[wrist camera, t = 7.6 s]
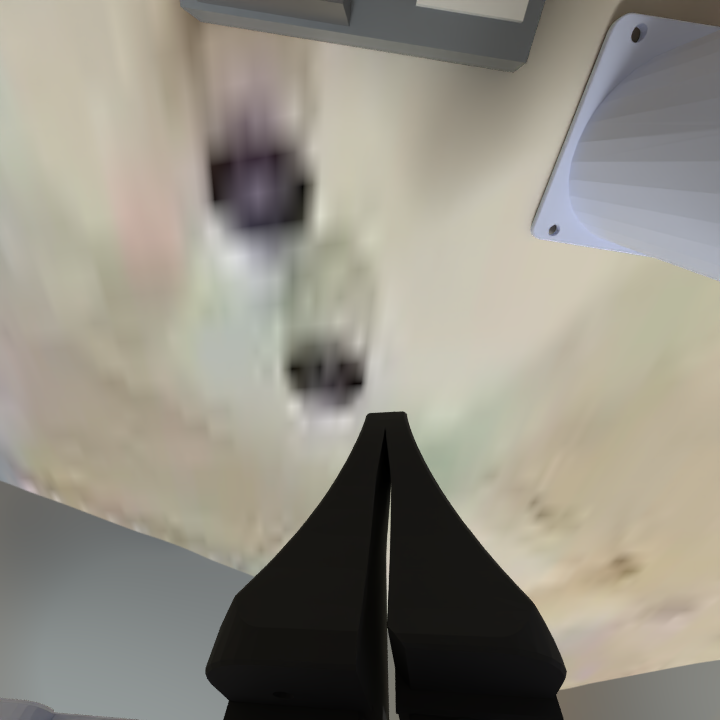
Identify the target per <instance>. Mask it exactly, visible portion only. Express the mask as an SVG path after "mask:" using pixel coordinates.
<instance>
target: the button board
mask: <svg viewBox="0 0 720 720" xmlns="http://www.w3.org/2000/svg"><path fill="white" fill-rule="evenodd" d="M544 3H545V0H180V6H181V7H182V8H183V9H184V10H186V11H187V12H188V13H190V14H191V15H192V16H194V17H195V18H196V19H198V20H199V21H200V22H205V23H211V24H218V25H224V26H230V27H236V28H242V29H248V30H255V31H261V32H267V33H273V34H279V35H285V36H292V37H298V38H304V39H310V40H316V41H322V42H329V43H335V44H341V45H347V46H353V47H359V48H365V49H372V50H378V51H384V52H390V53H396V54H402V55H409V56H415V57H421V58H427V59H433V60H439V61H446V62H452V63H458V64H464V65H470V66H476V67H482V68H489V69H495V70H501V71H507V72H514V71H516V70H517V69H518V68H520V67H521V66H523V65H524V64H525V63H526V62H527V59H528V55H529V52H530V49H531V46H532V42H533V39H534V36H535V33H536V29H537V26H538V23H539V20H540V16H541V13H542V10H543V7H544Z"/></svg>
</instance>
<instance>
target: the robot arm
mask: <svg viewBox="0 0 720 720" xmlns="http://www.w3.org/2000/svg"><path fill="white" fill-rule="evenodd" d="M635 27H638V28H639V29H640V37H639V39H638V41H637V42H636V43H634V42H633V41H632V39H631V35H632V31H633V30H634V28H635ZM553 225H556V231H555V232H554V233H552V234H549V233H548V231H549V229H550V227H551V226H553ZM531 234H532V235H533V236H534V237H535V238H538V239H542V240H548V241H554V242H560V243H567V244H573V245H579V246H586V247H592V248H598V249H605V250H611V251H617V252H623V253H630V254H636V255H642V256H649V257H654V258H656V259H659V260H662V261H665V262H667V263H670V264H673V265H676V266H678V267H681V268H684V269H687V270H690V271H692V272H695V273H698V274H701V275H703V276H706V277H709V278H712V279H715V280H717V281H720V27H718V26H712V25H706V24H700V23H694V22H688V21H681V20H675V19H669V18H663V17H657V16H651V15H645V14H639V13H627V14H625V15H623V16H622V17H620V18H618V19H617V20H616V21H615V22H614V23H613V24H612V25H611V27H610V28H609V30H608V32H607V35H606V37H605V40H604V42H603V45H602V47H601V50H600V53H599V55H598V58H597V60H596V63H595V65H594V68H593V70H592V73H591V75H590V78H589V81H588V83H587V86H586V88H585V91H584V93H583V96H582V98H581V101H580V103H579V106H578V109H577V111H576V114H575V116H574V119H573V121H572V124H571V126H570V129H569V131H568V134H567V137H566V139H565V142H564V144H563V147H562V149H561V152H560V154H559V157H558V159H557V162H556V165H555V167H554V170H553V172H552V175H551V177H550V180H549V182H548V185H547V187H546V190H545V193H544V195H543V198H542V200H541V203H540V205H539V208H538V210H537V213H536V215H535V218H534V221H533V223H532V226H531ZM390 492H391V531H390V566H389V591H388V614H387V589H386V549H387V532H388V519H389V506H390ZM387 628H388V633H389V638H390V644H391V649H392V654H393V659H394V664H395V681H396V682H395V686H396V687H395V690H396V714H399V719H400V720H563V716H562V713H561V709H560V706H559V703H558V700H557V697H556V694H557V692H558V691H559V689H560V687H561V686H562V684H563V682H564V680H565V678H566V672H567V671H566V668H565V665H564V662H563V659H562V657H561V655H560V652H559V650H558V648H557V646H556V643H555V641H554V639H553V637H552V635H551V633H550V631H549V629H548V627H547V625H546V623H545V622H544V620H543V618H542V616H541V615H540V613H539V611H538V609H537V608H536V606H535V604H534V603H533V602H532V601H531V599H530V598H529V597H528V596H527V595H526V594H525V593H524V592H523V591H522V590H521V589H520V588H519V587H518V586H517V585H516V584H515V583H514V581H513V580H512V579H511V578H510V577H509V576H508V575H507V574H506V573H505V572H504V571H503V569H502V568H501V567H500V566H499V565H498V564H497V563H496V561H495V560H494V559H493V558H492V557H491V556H490V554H489V553H488V552H487V551H486V550H485V549H484V547H483V546H482V545H481V544H480V542H479V541H478V540H477V538H476V537H475V536H474V535H473V533H472V532H471V531H470V530H469V528H468V527H467V526H466V525H465V523H464V522H463V521H462V519H461V518H460V517H459V515H458V514H457V512H456V511H455V510H454V508H453V507H452V505H451V504H450V502H449V501H448V499H447V498H446V496H445V495H444V493H443V492H442V490H441V489H440V487H439V485H438V484H437V482H436V480H435V479H434V477H433V475H432V473H431V472H430V470H429V468H428V466H427V464H426V463H425V461H424V459H423V457H422V455H421V453H420V450H419V448H418V446H417V444H416V442H415V439H414V437H413V434H412V432H411V429H410V426H409V423H408V419H407V414H406V413H405V412H383V413H369V414H368V415H367V416H366V419H365V422H364V424H363V427H362V430H361V432H360V434H359V437H358V439H357V441H356V443H355V445H354V447H353V449H352V451H351V453H350V455H349V457H348V459H347V461H346V463H345V464H344V466H343V468H342V469H341V471H340V473H339V475H338V476H337V478H336V480H335V481H334V483H333V484H332V486H331V487H330V489H329V491H328V492H327V494H326V495H325V496H324V498H323V499H322V501H321V502H320V503H319V505H318V506H317V508H316V509H315V510H314V511H313V513H312V514H311V515H310V517H309V518H308V519H307V521H306V522H305V523H304V524H303V526H302V527H301V528H300V529H299V530H298V532H297V533H296V534H295V535H294V536H293V537H292V538H291V539H290V541H289V542H288V543H287V544H286V545H285V546H284V547H283V548H282V549H281V551H280V552H279V553H278V554H277V555H276V556H275V557H274V558H273V559H272V560H271V561H270V562H269V563H268V564H267V566H265V567H264V568H263V569H262V570H261V571H260V572H259V573H258V574H257V575H256V576H255V577H254V578H253V579H252V580H251V581H250V582H249V583H248V584H247V585H246V586H245V587H244V588H243V589H242V590H241V591H240V592H239V593H238V594H237V595H236V596H235V597H234V599H233V602H232V604H231V606H230V608H229V610H228V612H227V614H226V616H225V619H224V621H223V623H222V625H221V627H220V630H219V633H218V636H217V638H216V641H215V644H214V647H213V649H212V652H211V655H210V658H209V660H208V663H207V666H206V676H207V679H208V680H209V682H210V683H211V684H212V685H213V686H214V687H215V688H216V689H217V690H218V691H220V692H221V693H222V694H223V695H224V696H225V697H226V698H227V699H228V700H229V703H228V706H227V709H226V713H225V716H224V719H223V720H389V695H388V654H387V653H388V650H387ZM0 720H135V719H125V718H113V717H101V716H89V715H78V714H66V713H55V712H54V710H53V709H51V708H50V707H48V706H45V705H43V704H40V703H37V702H33V701H27V700H18V699H6V698H0ZM136 720H137V719H136Z"/></svg>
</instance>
